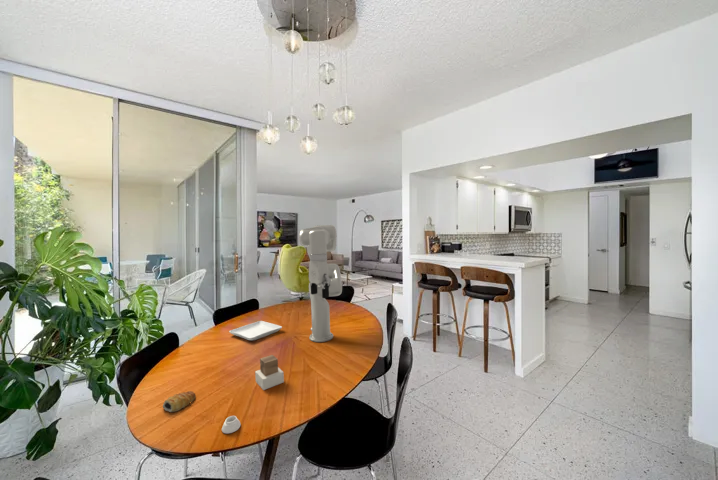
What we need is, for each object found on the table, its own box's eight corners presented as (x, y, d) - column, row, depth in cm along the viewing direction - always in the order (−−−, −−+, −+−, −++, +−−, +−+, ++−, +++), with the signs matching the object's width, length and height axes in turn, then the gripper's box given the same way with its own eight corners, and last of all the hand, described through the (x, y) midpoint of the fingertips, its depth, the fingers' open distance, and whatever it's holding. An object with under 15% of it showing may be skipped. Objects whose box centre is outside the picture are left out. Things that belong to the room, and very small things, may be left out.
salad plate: (260, 325, 176) (260, 319, 176) (283, 331, 164) (283, 326, 164) (228, 336, 159) (227, 330, 159) (250, 344, 147) (250, 338, 146)
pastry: (188, 394, 103) (187, 384, 103) (200, 399, 100) (200, 388, 100) (160, 410, 95) (160, 398, 95) (173, 415, 92) (172, 404, 92)
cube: (260, 371, 110) (259, 358, 110) (273, 366, 113) (272, 354, 113) (265, 376, 106) (264, 363, 106) (278, 371, 109) (277, 358, 109)
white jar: (218, 433, 83) (233, 435, 82) (217, 424, 83) (233, 425, 82) (229, 422, 88) (243, 423, 87) (228, 412, 88) (243, 414, 87)
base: (255, 381, 110) (255, 371, 110) (275, 374, 115) (275, 364, 115) (263, 390, 104) (262, 379, 104) (283, 382, 109) (283, 371, 109)
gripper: (301, 257, 132) (303, 293, 132) (321, 260, 118) (322, 300, 119) (315, 255, 136) (317, 291, 137) (336, 258, 123) (337, 297, 124)
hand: (319, 295), depth 128 cm, fingers open, 9 cm apart
